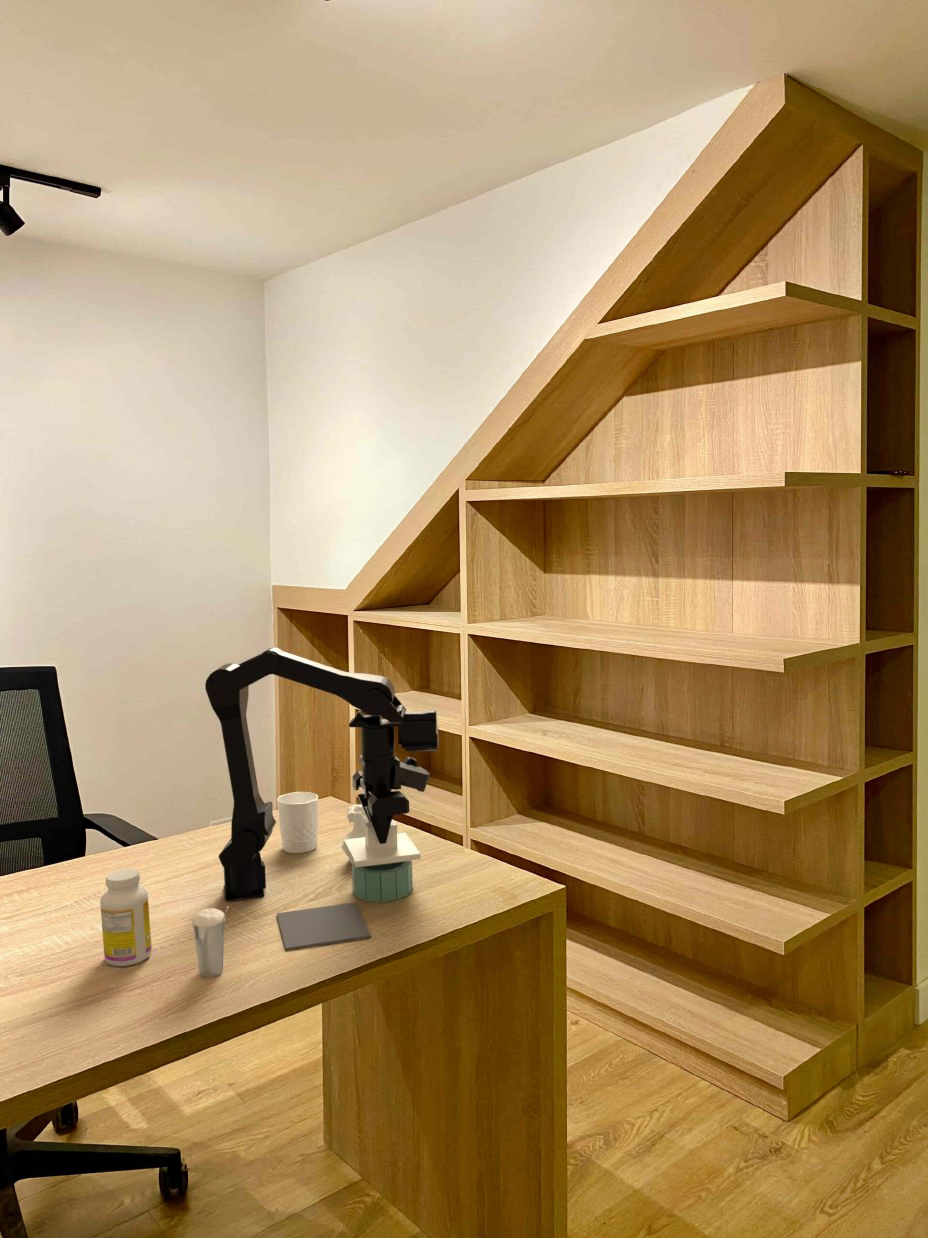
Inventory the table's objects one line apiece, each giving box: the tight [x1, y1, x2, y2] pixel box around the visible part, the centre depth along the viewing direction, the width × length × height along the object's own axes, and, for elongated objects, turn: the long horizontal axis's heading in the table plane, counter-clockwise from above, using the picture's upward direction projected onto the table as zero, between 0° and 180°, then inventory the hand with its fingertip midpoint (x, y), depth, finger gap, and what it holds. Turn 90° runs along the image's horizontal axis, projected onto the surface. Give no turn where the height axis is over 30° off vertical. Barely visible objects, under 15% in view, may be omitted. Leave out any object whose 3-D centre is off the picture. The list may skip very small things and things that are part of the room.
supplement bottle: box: [99, 868, 153, 967], centre depth 140 cm, size 7×7×13 cm
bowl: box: [351, 860, 414, 903], centre depth 163 cm, size 10×10×5 cm
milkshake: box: [191, 906, 229, 978], centre depth 135 cm, size 5×5×10 cm
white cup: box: [276, 791, 319, 854], centre depth 184 cm, size 8×8×10 cm
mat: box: [276, 902, 372, 951], centre depth 149 cm, size 13×13×1 cm
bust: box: [341, 803, 369, 864], centre depth 178 cm, size 12×8×11 cm
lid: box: [343, 819, 421, 867], centre depth 162 cm, size 11×11×5 cm
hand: (380, 840), depth 162 cm, fingers closed on lid, 3 cm apart
